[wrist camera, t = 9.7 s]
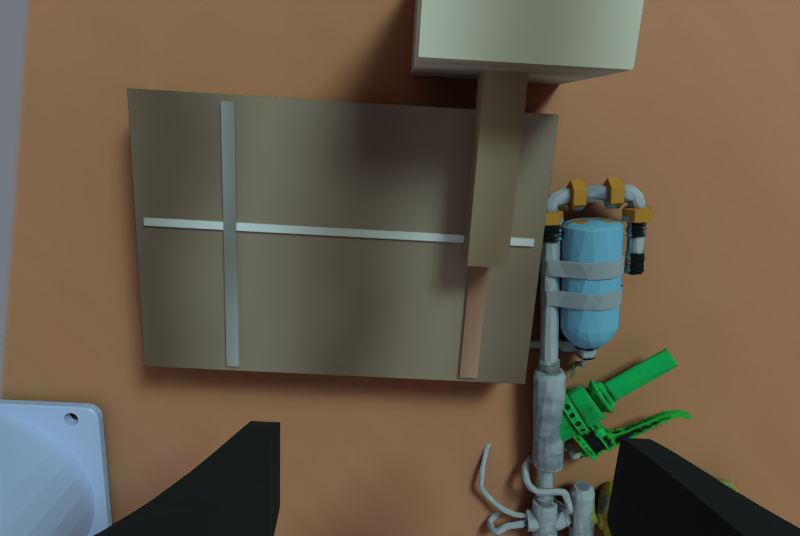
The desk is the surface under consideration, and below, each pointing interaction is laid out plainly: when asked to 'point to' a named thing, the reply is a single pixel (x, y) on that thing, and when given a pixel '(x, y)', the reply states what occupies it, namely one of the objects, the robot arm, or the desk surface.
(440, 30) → the joiner mallet
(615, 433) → the flamethrower
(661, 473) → the robot arm
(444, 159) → the brown flat block
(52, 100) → the desk surface
